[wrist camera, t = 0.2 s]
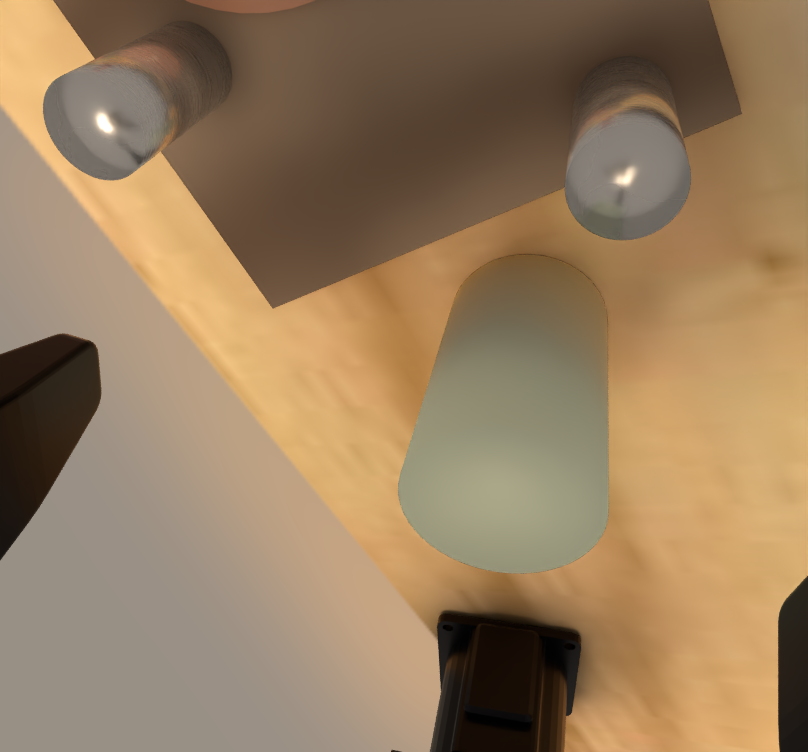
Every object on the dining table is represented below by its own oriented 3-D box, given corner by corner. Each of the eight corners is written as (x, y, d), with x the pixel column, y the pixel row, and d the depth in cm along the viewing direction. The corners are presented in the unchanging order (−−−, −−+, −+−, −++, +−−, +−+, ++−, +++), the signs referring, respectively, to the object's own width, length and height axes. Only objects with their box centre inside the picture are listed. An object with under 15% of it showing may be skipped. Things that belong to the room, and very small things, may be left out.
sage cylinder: (599, 390, 25) (597, 585, 18) (452, 378, 26) (404, 559, 19) (616, 258, 22) (620, 437, 15) (449, 250, 23) (390, 416, 16)
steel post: (659, 157, 19) (673, 247, 15) (159, 107, 21) (59, 174, 17) (683, 60, 17) (706, 131, 14) (142, 16, 20) (29, 67, 16)
